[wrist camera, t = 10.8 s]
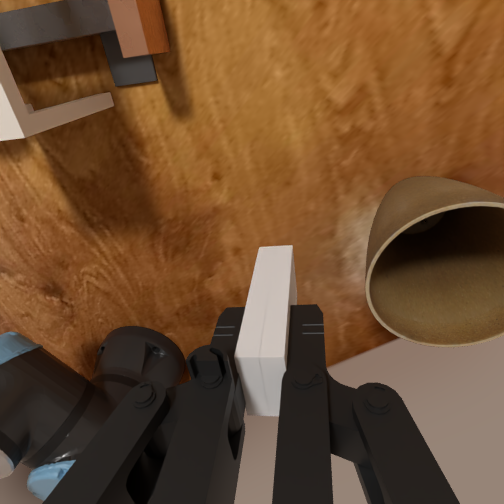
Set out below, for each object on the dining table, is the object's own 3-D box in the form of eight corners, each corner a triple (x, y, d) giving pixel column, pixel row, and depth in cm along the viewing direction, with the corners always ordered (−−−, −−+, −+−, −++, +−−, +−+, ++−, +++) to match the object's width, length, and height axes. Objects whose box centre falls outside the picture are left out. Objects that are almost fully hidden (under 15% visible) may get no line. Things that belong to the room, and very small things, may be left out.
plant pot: (350, 149, 41) (371, 206, 27) (494, 140, 38) (596, 197, 25) (346, 260, 48) (361, 347, 35) (466, 258, 46) (533, 351, 32)
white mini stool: (162, 99, 41) (92, 129, 27) (25, 117, 44) (-95, 152, 31) (113, -103, 32) (-22, -199, 19) (-52, -61, 35) (-264, -118, 22)
